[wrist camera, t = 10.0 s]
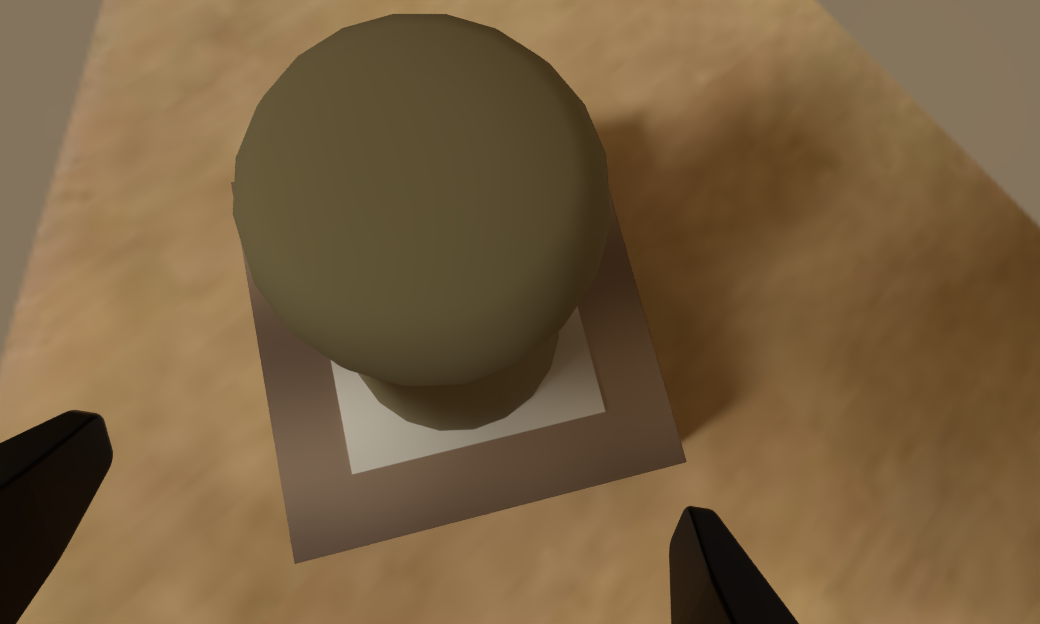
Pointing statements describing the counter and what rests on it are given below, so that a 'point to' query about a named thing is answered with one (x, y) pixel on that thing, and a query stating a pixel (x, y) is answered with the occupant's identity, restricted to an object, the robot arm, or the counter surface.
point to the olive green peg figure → (425, 212)
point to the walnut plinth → (465, 453)
